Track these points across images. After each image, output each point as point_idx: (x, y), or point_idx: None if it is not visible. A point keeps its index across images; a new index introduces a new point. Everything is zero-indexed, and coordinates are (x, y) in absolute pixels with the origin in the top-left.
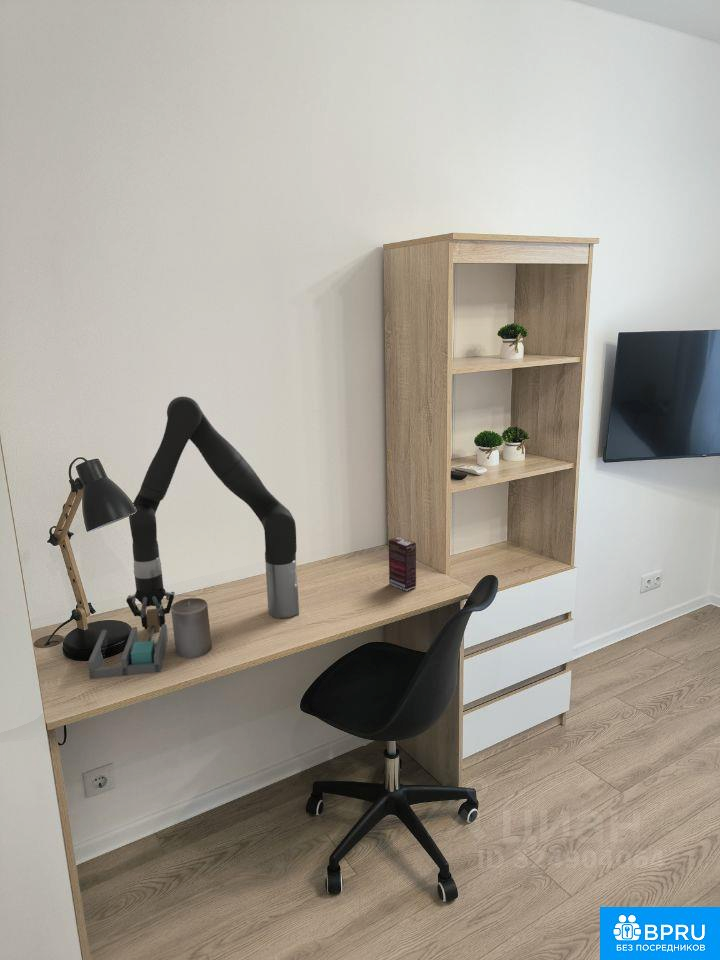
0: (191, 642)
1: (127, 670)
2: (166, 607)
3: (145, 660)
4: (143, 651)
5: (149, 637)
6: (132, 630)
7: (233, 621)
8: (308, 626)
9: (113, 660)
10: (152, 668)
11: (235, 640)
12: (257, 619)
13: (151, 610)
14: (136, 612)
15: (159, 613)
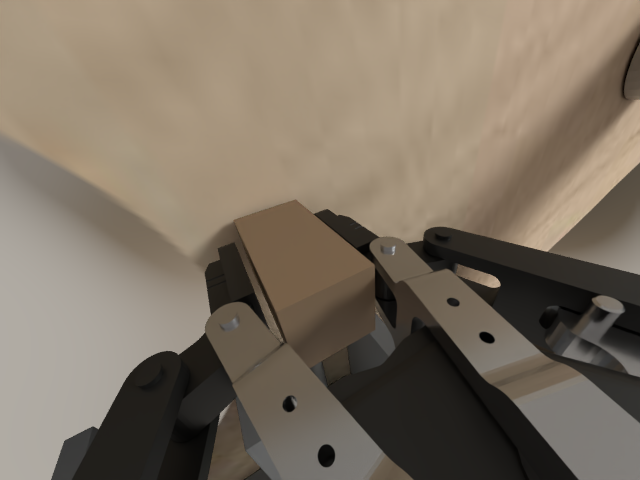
0: None
1: None
2: (443, 258)
3: None
4: None
5: (317, 366)
6: (265, 460)
7: (545, 114)
8: (624, 150)
9: (214, 448)
10: None
11: (505, 240)
12: (592, 99)
13: (325, 319)
14: (208, 442)
15: (381, 307)
